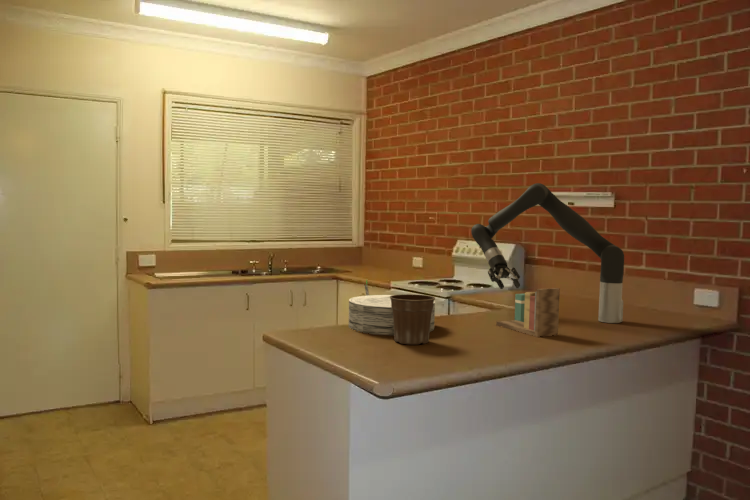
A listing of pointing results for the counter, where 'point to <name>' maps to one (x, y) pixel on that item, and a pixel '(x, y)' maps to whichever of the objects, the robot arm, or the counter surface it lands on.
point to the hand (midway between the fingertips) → (510, 287)
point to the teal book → (519, 307)
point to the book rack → (538, 314)
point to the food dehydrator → (374, 314)
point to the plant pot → (412, 318)
